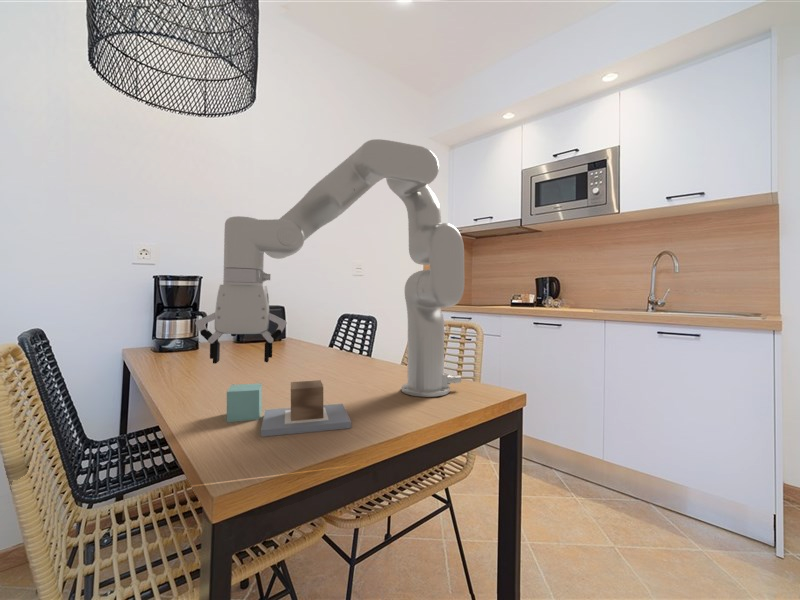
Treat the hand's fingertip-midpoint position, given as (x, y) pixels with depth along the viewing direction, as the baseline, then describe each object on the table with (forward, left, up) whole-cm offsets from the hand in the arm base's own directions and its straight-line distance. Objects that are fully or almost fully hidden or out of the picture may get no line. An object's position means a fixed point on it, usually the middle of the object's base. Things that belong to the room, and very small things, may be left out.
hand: (241, 361), depth 77 cm
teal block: (-1, 0, -11) cm, 11 cm away
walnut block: (-13, +7, -10) cm, 17 cm away
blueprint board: (-13, +7, -11) cm, 18 cm away
